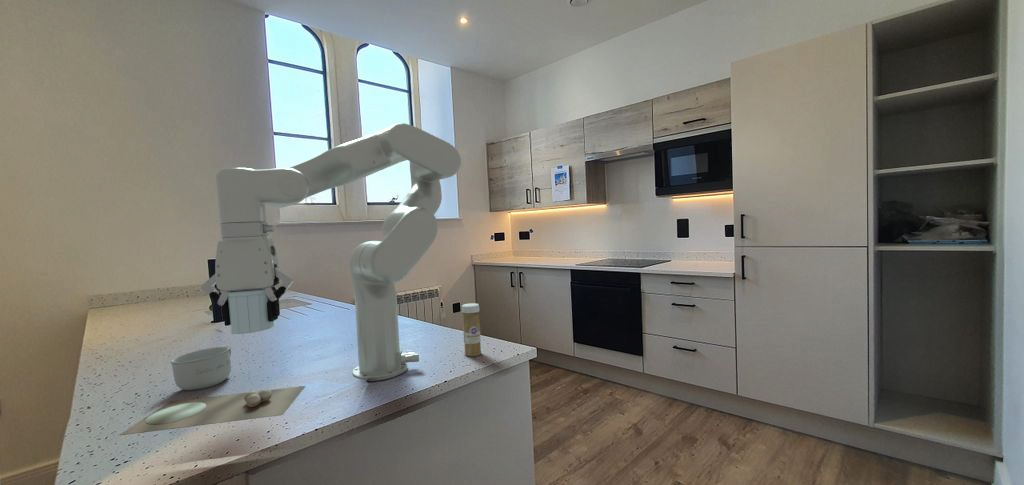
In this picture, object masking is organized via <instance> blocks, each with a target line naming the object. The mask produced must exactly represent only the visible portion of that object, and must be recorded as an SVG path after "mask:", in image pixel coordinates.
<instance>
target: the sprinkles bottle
mask: <svg viewBox="0 0 1024 485" xmlns="http://www.w3.org/2000/svg"><path fill="white" fill-rule="evenodd" d="M461 310H462V311H461V312H462V319H463V324H462V326H463V327H462V328H463V330H462V331H463V343H464V355H465V356H466V357H477V356H480V355H481V354H482V351H481V350H482V349H481V347H482V346H481V323H480V305H479V303H473V302H472V303H465V304H462V305H461Z"/></svg>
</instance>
